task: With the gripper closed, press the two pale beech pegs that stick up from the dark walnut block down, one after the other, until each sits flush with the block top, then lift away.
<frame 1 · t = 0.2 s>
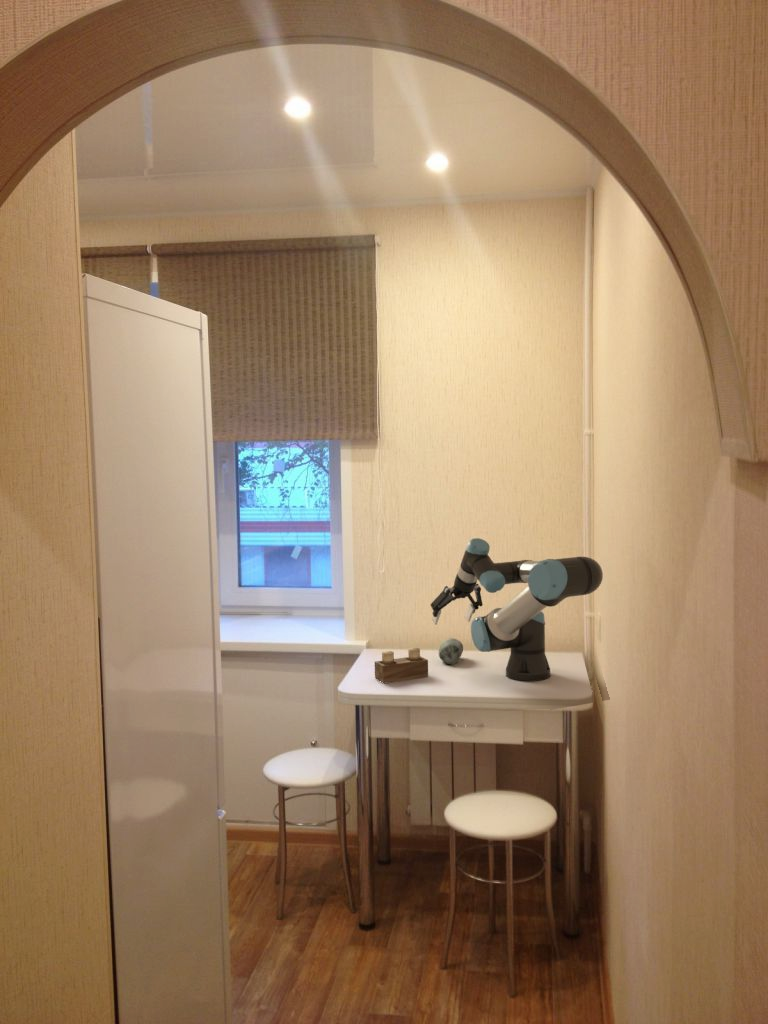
hand: (450, 620, 326), 16 cm above the table, fingers open, 13 cm apart
walnut block: (401, 677, 309), on the table
peg left: (388, 659, 306), point 7 cm above the table, slide at 3.5 cm
grey green ridged egg: (451, 662, 330), on the table
peg right: (414, 656, 310), point 7 cm above the table, slide at 3.5 cm
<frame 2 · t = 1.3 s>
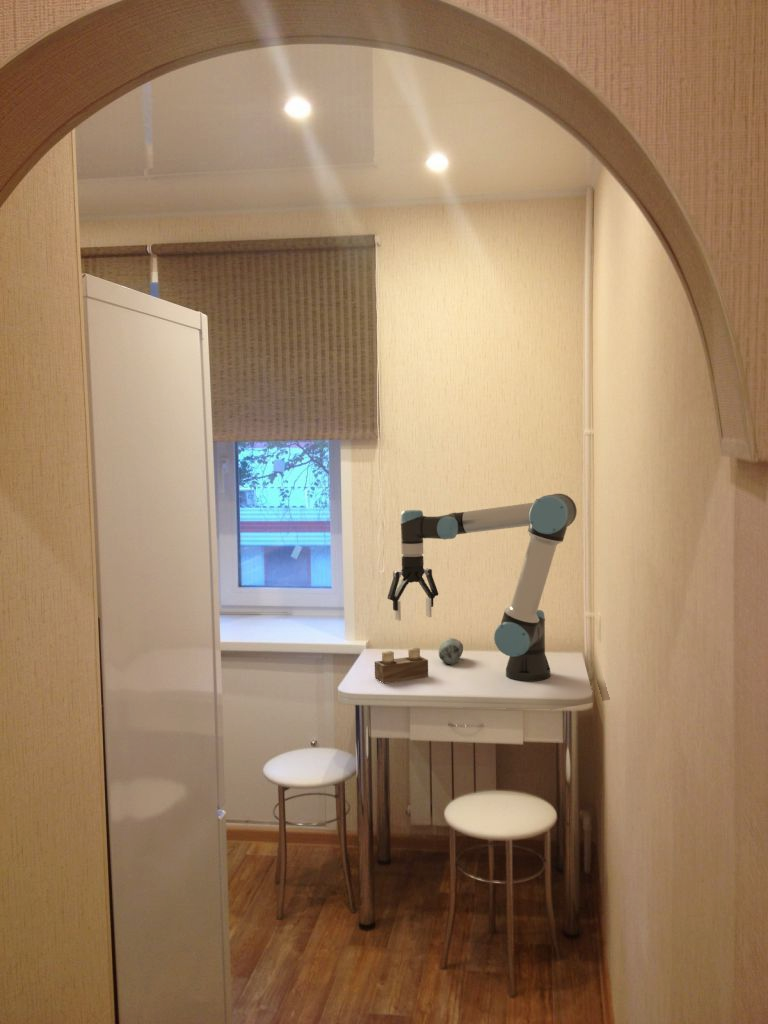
hand: (413, 618, 309), 20 cm above the table, fingers open, 11 cm apart
nothing on the table moved.
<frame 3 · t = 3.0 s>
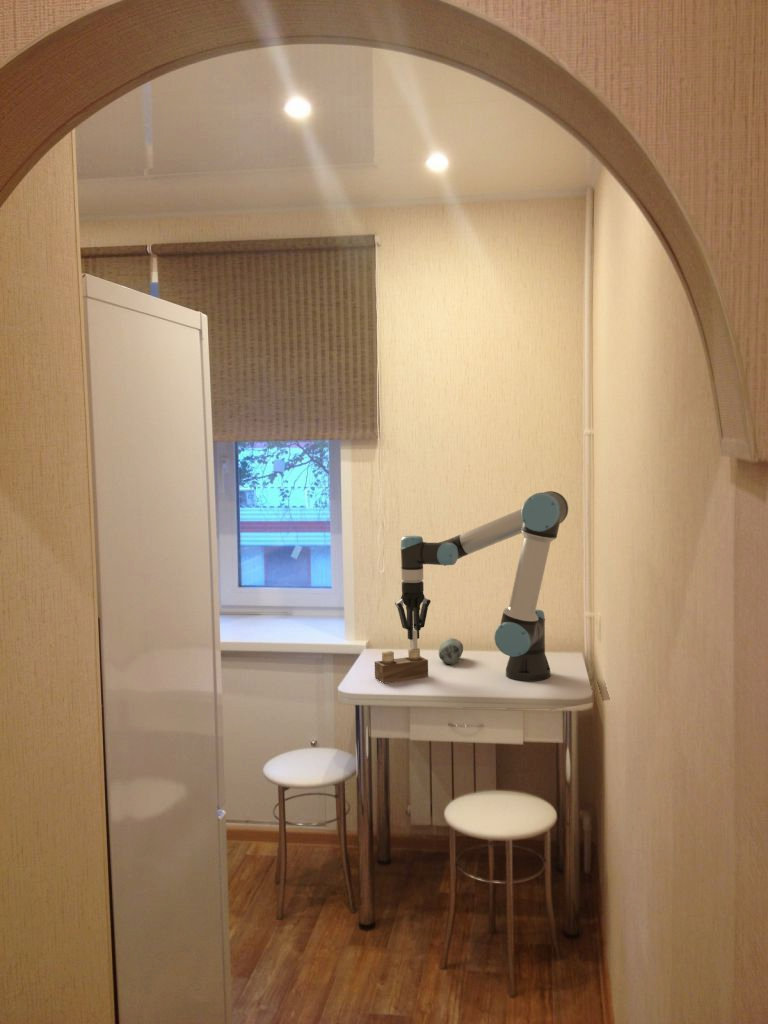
hand: (413, 648, 310), 10 cm above the table, fingers closed
peg right: (414, 656, 310), point 7 cm above the table, slide at 3.4 cm, touching gripper
everything else where it was.
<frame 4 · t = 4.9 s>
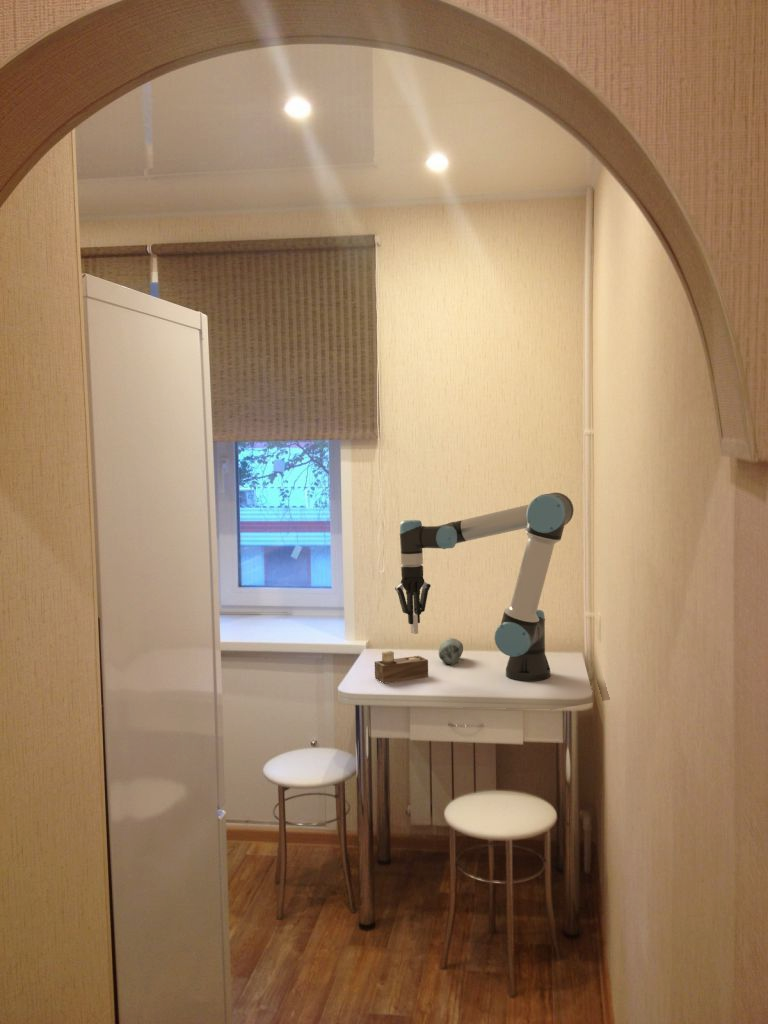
hand: (414, 633, 309), 15 cm above the table, fingers closed
peg right: (414, 666, 310), point 3 cm above the table, slide at 0.0 cm, touching walnut block
everything else where it was.
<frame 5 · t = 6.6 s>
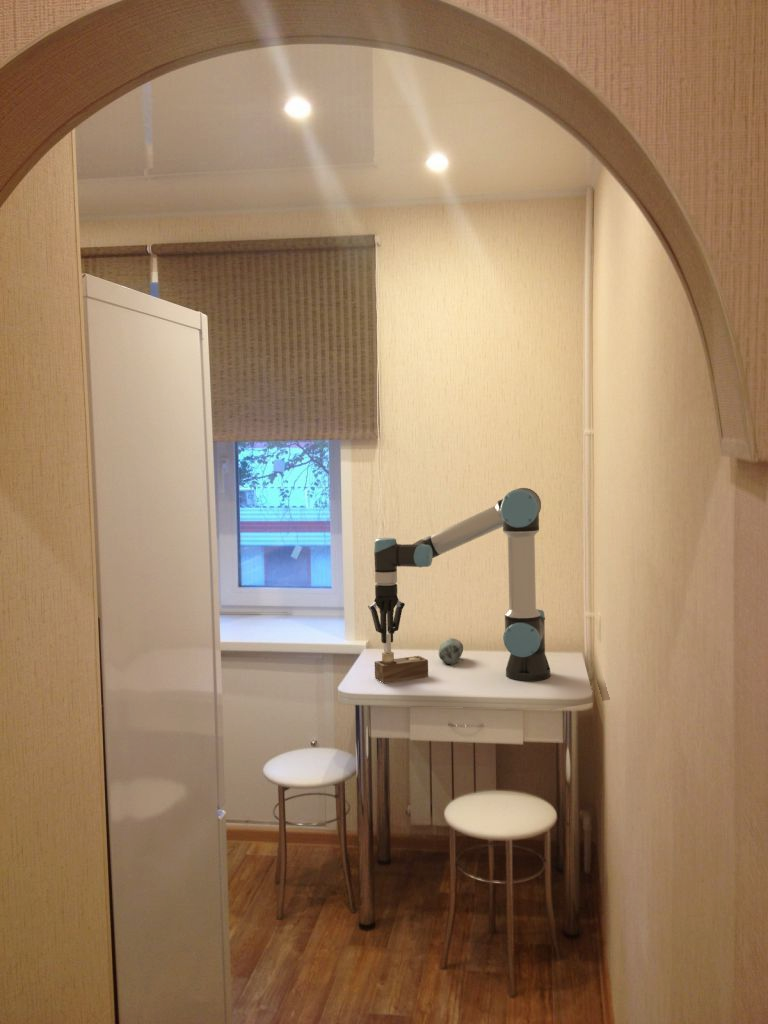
hand: (387, 652, 306), 10 cm above the table, fingers closed
peg left: (388, 660, 306), point 7 cm above the table, slide at 3.4 cm, touching gripper
everything else where it was.
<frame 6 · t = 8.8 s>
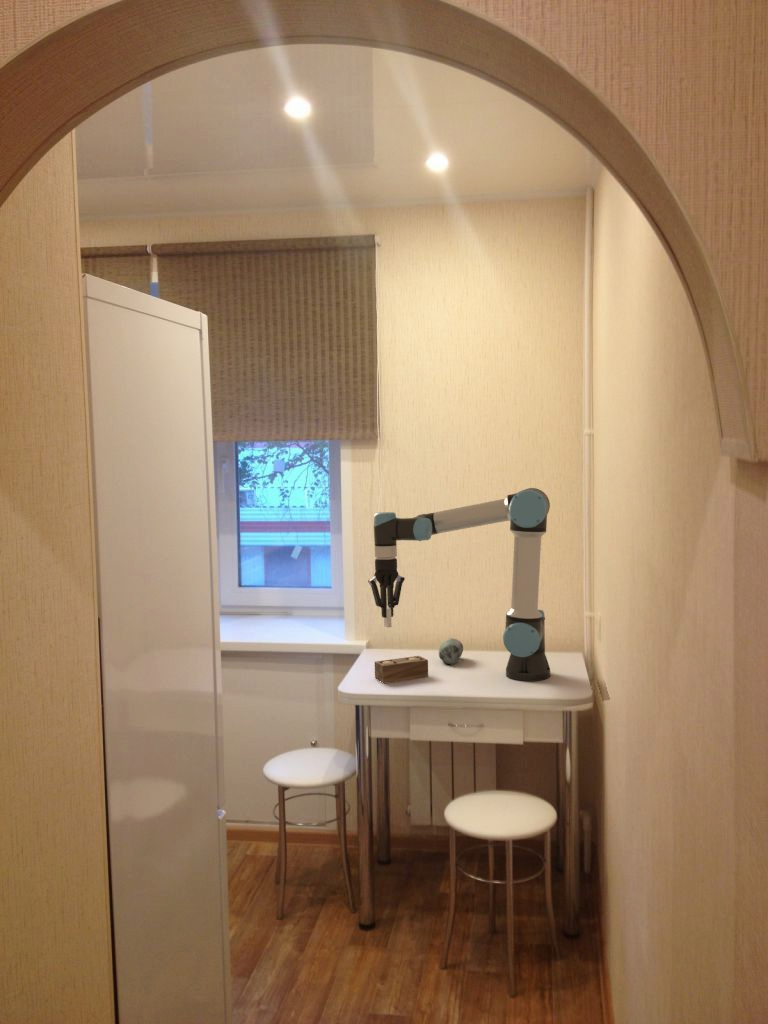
hand: (387, 626, 305), 18 cm above the table, fingers closed
peg left: (388, 669, 306), point 3 cm above the table, slide at 0.0 cm, touching walnut block
everything else where it was.
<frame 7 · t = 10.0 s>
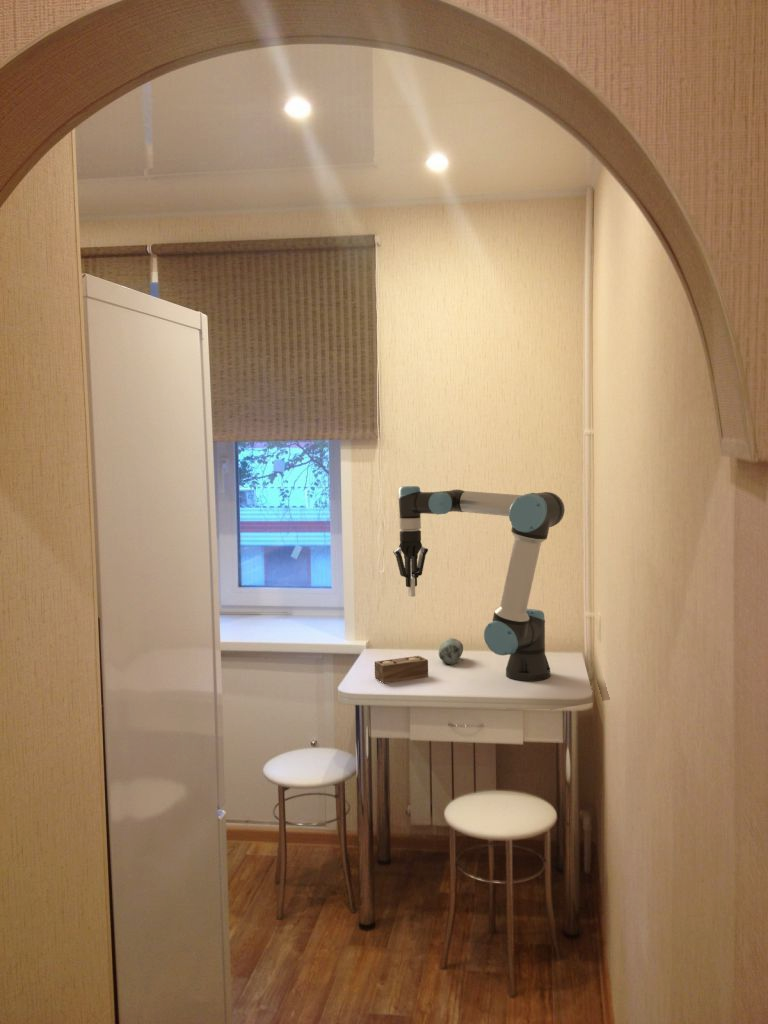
hand: (411, 595, 318), 26 cm above the table, fingers closed
nothing on the table moved.
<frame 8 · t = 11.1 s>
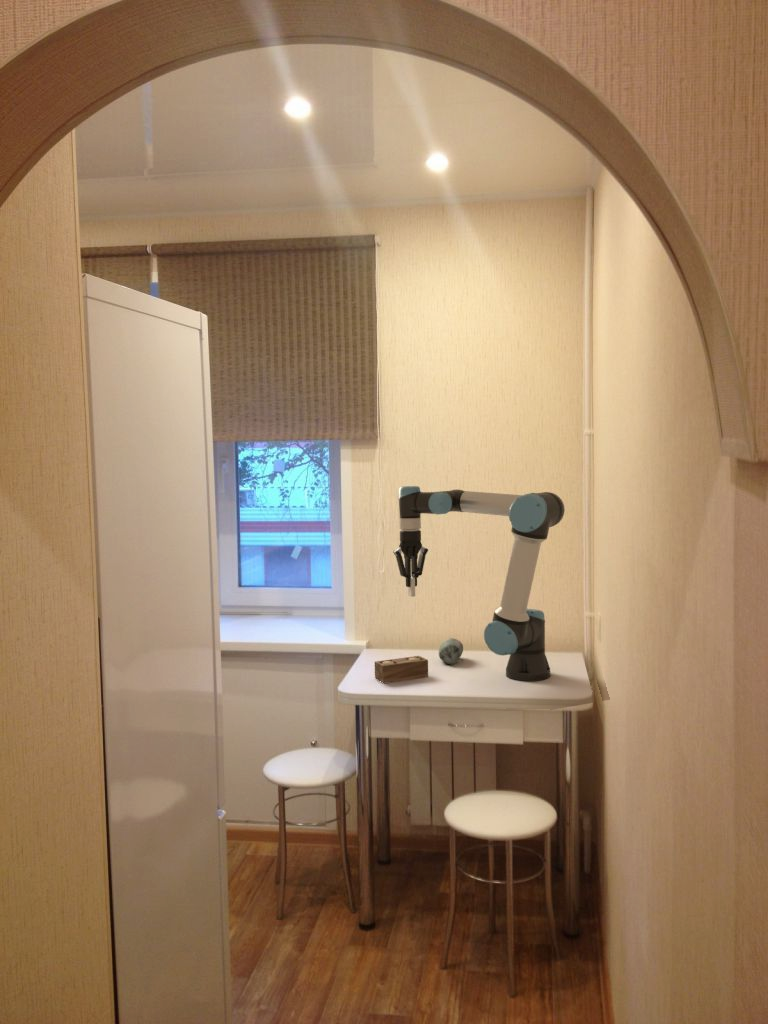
hand: (411, 595, 318), 26 cm above the table, fingers closed
nothing on the table moved.
at the end: peg right slide at 0.0 cm; peg left slide at 0.0 cm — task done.
